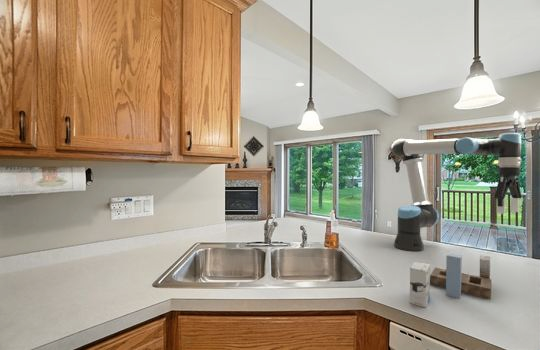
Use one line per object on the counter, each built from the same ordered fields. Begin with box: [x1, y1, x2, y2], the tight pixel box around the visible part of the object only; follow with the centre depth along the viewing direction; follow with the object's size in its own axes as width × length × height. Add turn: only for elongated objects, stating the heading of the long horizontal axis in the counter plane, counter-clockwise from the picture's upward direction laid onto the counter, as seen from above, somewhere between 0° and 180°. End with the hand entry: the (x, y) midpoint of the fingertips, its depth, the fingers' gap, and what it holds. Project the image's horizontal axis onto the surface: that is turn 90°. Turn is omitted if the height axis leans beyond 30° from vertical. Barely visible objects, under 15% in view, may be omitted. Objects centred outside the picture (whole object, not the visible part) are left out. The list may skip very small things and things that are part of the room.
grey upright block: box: [479, 254, 491, 279], centre depth 103 cm, size 3×6×10 cm, turn 139°
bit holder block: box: [430, 267, 492, 300], centre depth 100 cm, size 18×11×4 cm, turn 49°
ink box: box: [409, 261, 431, 308], centre depth 88 cm, size 8×5×12 cm, turn 141°
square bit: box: [445, 252, 463, 299], centre depth 93 cm, size 4×4×14 cm
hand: (507, 212), depth 122 cm, fingers open, 13 cm apart
